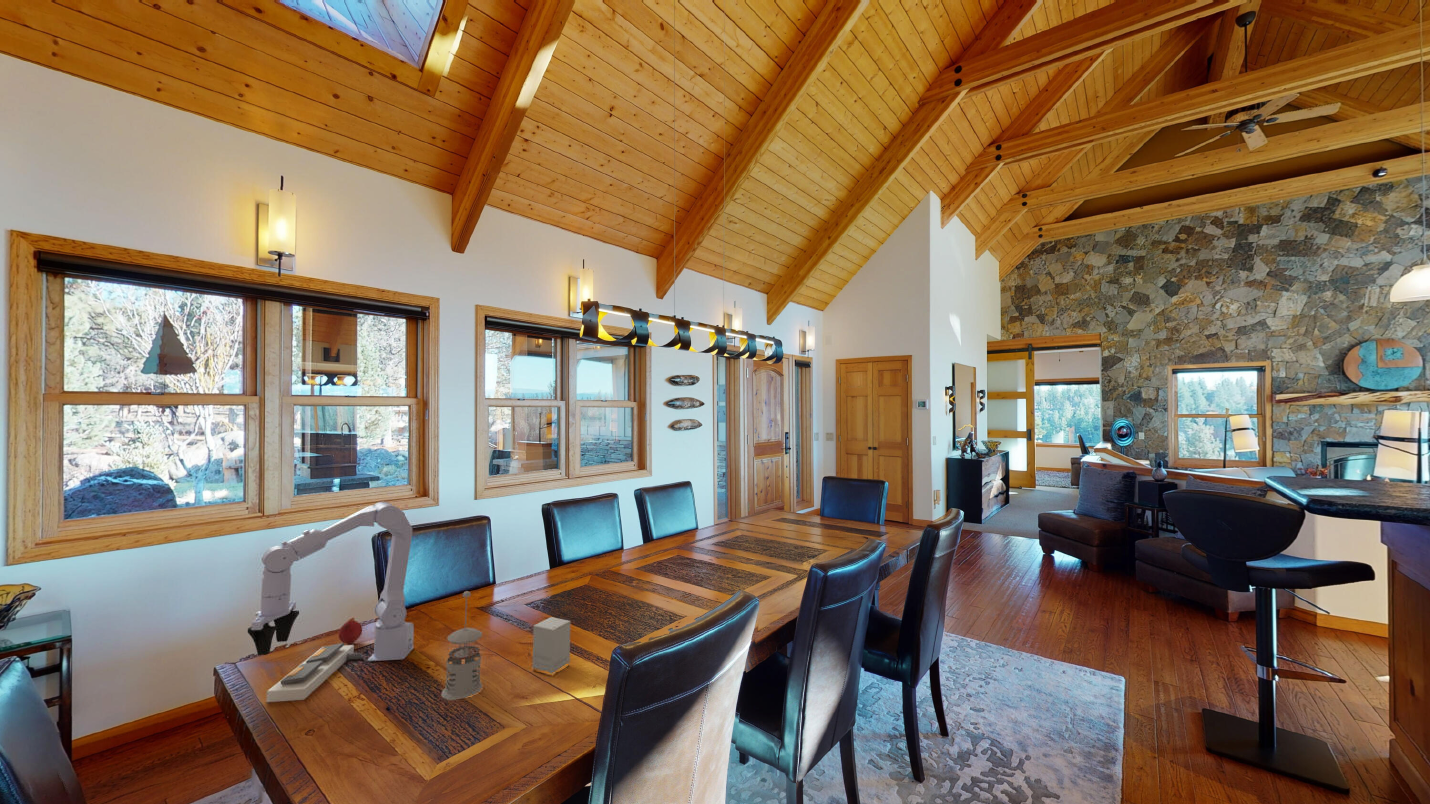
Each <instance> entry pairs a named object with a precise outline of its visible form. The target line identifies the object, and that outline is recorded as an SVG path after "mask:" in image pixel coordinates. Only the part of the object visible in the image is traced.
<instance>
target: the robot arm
mask: <svg viewBox="0 0 1430 804" xmlns="http://www.w3.org/2000/svg"><path fill="white" fill-rule="evenodd" d="M375 523H376V524H377V525H378V526H379V527H380V528H383V529H384V530H387V531H388V532H389V533H390V534H391V536H392V537H391V542H390V547H389V555H388V560H387V561H388V562H387V567H386V573H385V580H384V586H383V590H381V592H380V596H379V597H380V598H379V600H378V602H376V604H375V606H374V614H375V616H376V617H377V618H378V619H377V621H376V622H375V625H374V626H375V627H374V643H373V644H374V645H373V646H374V648H373V653H372V655H371V656H370V657H369V658H367V662H377V661H379V662H380V661H394V660H404V659H406V657H407V656H408V655H410V653H411V651H412V650H413V649H414V648H415V647H414V633H415V632H414V631H415V627H414V623H413V622H407V621H405V620H406V617H407V609H406V606H405V602H406V597H405V593H404V592H405V591H404V589H405V584H406V582H405V581H406V577H407V572H408V571H407V570H408V564H409V563H408V562H409V557H410V552H411V551H410V550H411V543H412V537H413V527H412V525H411V523H410V522H409V520H408V517H406V514H405V512H404V511H403V510H401V509H400V508H399V507H397V506H395V505H393V504H391V503H390V502H388V501H379V502H376V503H374V504H373V505H368V506H367V507H364V508H363V509H360V510H357V512H354V513H352V514H350V515H349V516H346V517H345V518H343V519H341V520H339V521H337V522H335V523H333V524H332V525H330V526H328V527H326V528H323V529H315V528H313V529H311V530H309V529H306V530H304V531H302V534H301V535H298V536H297V537H295V538H292V539H290V540H288V541H287V540H283V541H282V542H281V543H280V544H281V545H275V546H271V547H269V548H268V549H267V550H266V551H265V552H264V553H263V556H262V557H261V562H262V563H263V566H264V568H263V570H262V571H263V572H262V580H261V594H260V595H261V598H260V599H261V601H260V610H258V611H257V612H255V615H254V616H256V618H255V620H253V621H252V622H251V626H250V627H248V628H247V633H248V635H249V636H250V637H251V638H252V641H253V643H254V645H255V649H256V653H257V655H258V656H263V655H264V656H266V655H269V654H270V652H271V649H272V642H273V638H274V635H275V639H276V642H277V643H283V642H285V643H286V642H287V641H289V638H290V635H291V631H292V628H293V627H294V623H295V621H296V619H297V617H298V616H299V615H300V611H299V610H295V609H296V608H297V606H296V605H297V601H296V600H295V601H291V585H292V584H291V583H292V574H291V568H292V565H293V564H294V562H299V561H300V560H302V559H304V558H307V557H308V556H310V555H312V554H314V553H316V552H319V551H320V550H322V549H324V548H325V547H326V545H327V544H328V542H329V541H330V540H332V539H333V540H334V539H335V538H337V537H339V536H341V535H344V534H346V533H348V532H352V531H353V530H355V529H356V528H360V527H375ZM271 622H273V623H274V625H271V624H270V623H271Z"/></svg>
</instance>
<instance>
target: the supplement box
mask: <svg viewBox="0 0 1430 804" xmlns="http://www.w3.org/2000/svg"><path fill="white" fill-rule="evenodd" d="M532 640H533V641H532V644H533V645H532V646H533V647H532V669H533V668H535V669H538V670H543V671H548V672H550V673H553V672H555V671H556V670H558V669H559V668H561V667H562V666H564V665H565V664H567V663H569V664H570V661H571V660H570V657H571V656H570V654H571V653H570V652H571V651H570V648H571V620H567V619H562V618H558V617H553V616H550V617H548V618H546V619H544V620H542V621H540V622H539V623H536V624H534V625H533V639H532Z"/></svg>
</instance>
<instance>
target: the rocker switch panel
mask: <svg viewBox="0 0 1430 804" xmlns="http://www.w3.org/2000/svg"><path fill="white" fill-rule="evenodd" d="M323 647H324V646H322V647H321V648H319V649H318V650H317V651H315V652H314V653H313V654H312V655H310V656H309V657H307V659H306V660H304V661H303V662H301V663H300V664H299V665H297V666H296V668H298V667H299V666H300V665H302V664H306V661H307V660H308V659H309V658H311V657H312V656H313V655H314V654H315V653H317V652H318V651H319V650H320V649H322V648H323ZM354 648H355V645H354V644H351V645H348V644H344V646H343V647H342V648H340V649H339V650H338V651H337V652H336V653H335V654H333V655H332V656H331V657H330V658H329V659H328V660H324V661H323V664H322V665H321V666H320V667H319V668H318V669H316V670H315V671H314V672H313V673H312V674H311V675H309V676H308V677H307V678H306V679H305V680H303V681H297V682H292V683H286V684H281V681H282V680H283V679H284V678H285V677H287V676H288V675H289V674H290V673H291V672H293V671H294V670H295V669H296V668H294V669H293V670H292V671H291V672H289V673H288V674H286V675H285V676H284V677H283V678H282V679H281V680H280V681H278V682H276V684H274V685H273V686H271V688H269V689H268V690H267V691H266V702H265V703H275V702H277V703H278V702H289V701H304V700H305V699H306V698H308V696H310V695H311V694H312V693H313V692H314V691H315V690H316V689H318V687H320V686H321V685H322V684H323V683H324V682H325V681H326V680H327V679H329V677H331V675H332V674H334V673H335V672H336V671H337V670H339V668H341V666H342V665H344V663H346V662H347V661H352V660H361V659H362V658H363V652H354V651H355V650H354Z"/></svg>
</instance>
